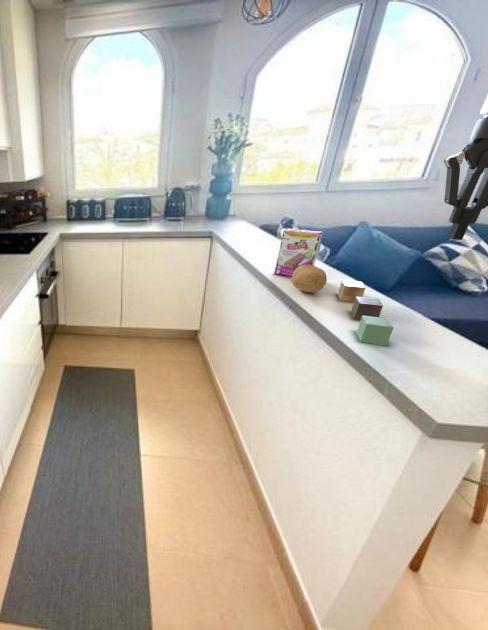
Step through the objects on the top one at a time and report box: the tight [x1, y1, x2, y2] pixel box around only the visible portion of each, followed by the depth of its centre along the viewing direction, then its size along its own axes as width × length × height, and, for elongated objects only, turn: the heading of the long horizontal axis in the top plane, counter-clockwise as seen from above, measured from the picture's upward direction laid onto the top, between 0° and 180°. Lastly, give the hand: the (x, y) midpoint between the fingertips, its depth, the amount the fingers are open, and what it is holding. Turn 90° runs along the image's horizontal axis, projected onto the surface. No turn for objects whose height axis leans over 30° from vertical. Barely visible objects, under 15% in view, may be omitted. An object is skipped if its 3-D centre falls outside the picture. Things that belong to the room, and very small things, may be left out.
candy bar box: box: [274, 227, 324, 278], centre depth 123 cm, size 11×5×16 cm, turn 46°
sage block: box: [356, 315, 394, 346], centre depth 85 cm, size 5×5×5 cm
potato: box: [291, 264, 328, 293], centre depth 113 cm, size 10×14×8 cm
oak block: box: [337, 279, 366, 303], centre depth 105 cm, size 5×5×5 cm
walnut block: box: [350, 296, 384, 321], centre depth 94 cm, size 5×5×5 cm
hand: (454, 238), depth 76 cm, fingers closed
